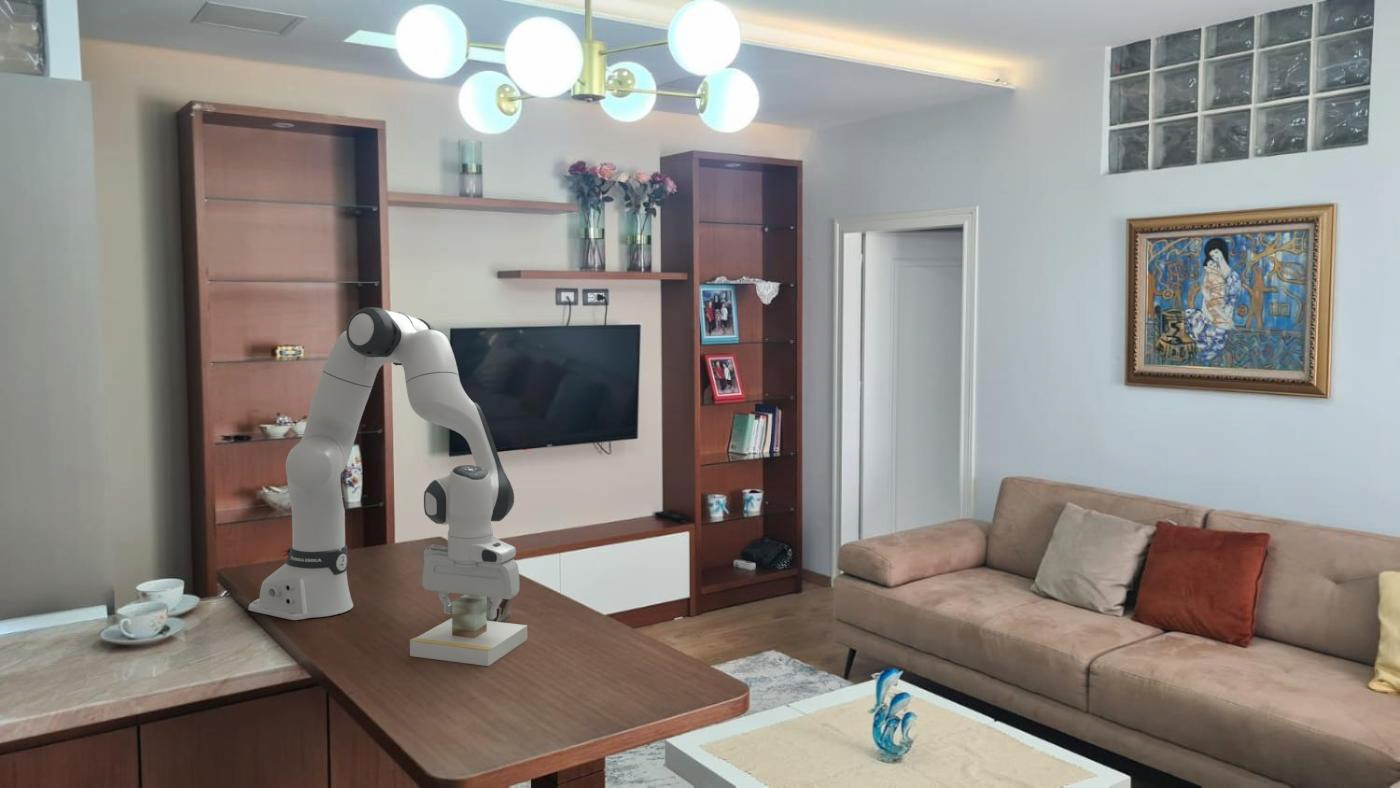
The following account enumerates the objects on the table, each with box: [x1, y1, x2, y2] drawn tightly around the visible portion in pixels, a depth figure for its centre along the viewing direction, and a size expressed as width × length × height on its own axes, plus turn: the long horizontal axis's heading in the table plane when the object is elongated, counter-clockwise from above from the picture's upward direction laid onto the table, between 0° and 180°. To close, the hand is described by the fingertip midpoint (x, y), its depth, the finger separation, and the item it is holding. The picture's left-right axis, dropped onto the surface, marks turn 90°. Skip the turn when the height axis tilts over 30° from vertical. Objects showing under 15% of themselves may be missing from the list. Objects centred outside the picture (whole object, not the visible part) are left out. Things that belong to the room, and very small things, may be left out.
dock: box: [409, 617, 528, 667], centre depth 216 cm, size 17×17×3 cm
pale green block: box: [451, 594, 487, 638], centre depth 215 cm, size 5×5×7 cm
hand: (470, 615), depth 215 cm, fingers open, 8 cm apart
